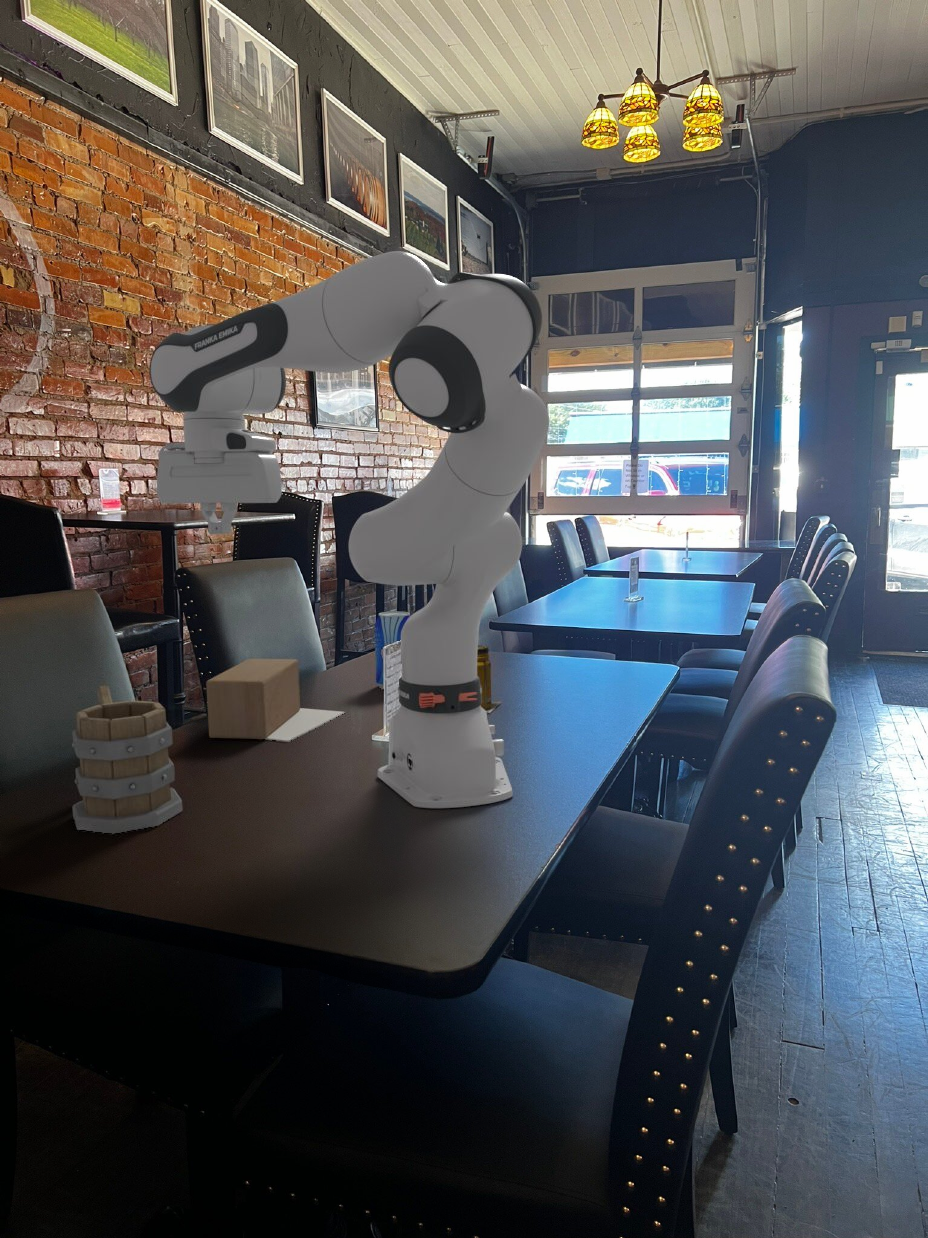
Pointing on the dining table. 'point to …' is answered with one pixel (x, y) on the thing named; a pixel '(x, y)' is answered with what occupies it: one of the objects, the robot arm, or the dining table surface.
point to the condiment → (485, 678)
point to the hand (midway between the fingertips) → (220, 534)
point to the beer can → (387, 636)
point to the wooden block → (253, 698)
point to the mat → (302, 724)
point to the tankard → (123, 766)
